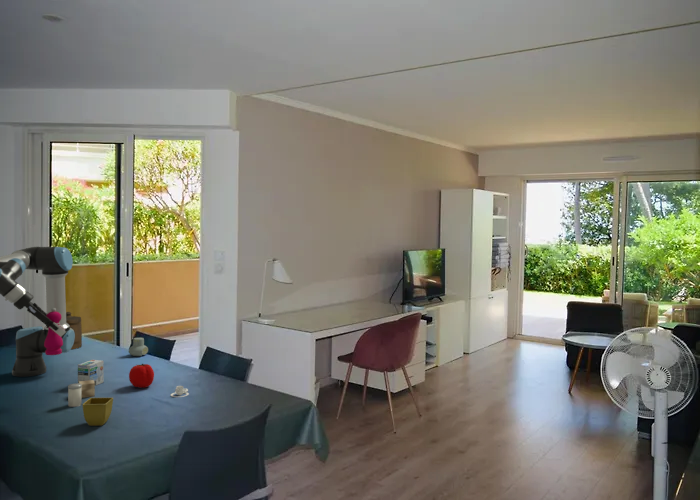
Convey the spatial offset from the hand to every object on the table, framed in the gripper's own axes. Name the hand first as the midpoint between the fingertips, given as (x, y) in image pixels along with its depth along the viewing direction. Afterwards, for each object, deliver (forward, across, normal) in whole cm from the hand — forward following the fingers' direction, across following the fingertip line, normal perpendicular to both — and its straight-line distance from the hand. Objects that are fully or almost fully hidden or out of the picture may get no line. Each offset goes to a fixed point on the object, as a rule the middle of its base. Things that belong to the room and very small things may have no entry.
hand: (63, 333), depth 244 cm
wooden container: (+25, -110, -17) cm, 114 cm away
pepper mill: (+4, 0, -9) cm, 10 cm away
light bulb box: (+29, -17, -12) cm, 36 cm away
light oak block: (+27, 0, -14) cm, 30 cm away
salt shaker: (+23, +13, -17) cm, 32 cm away
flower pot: (+28, +41, -13) cm, 51 cm away
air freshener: (+50, -71, +8) cm, 87 cm away
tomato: (+44, -4, +3) cm, 44 cm away
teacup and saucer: (+56, +17, +14) cm, 60 cm away
